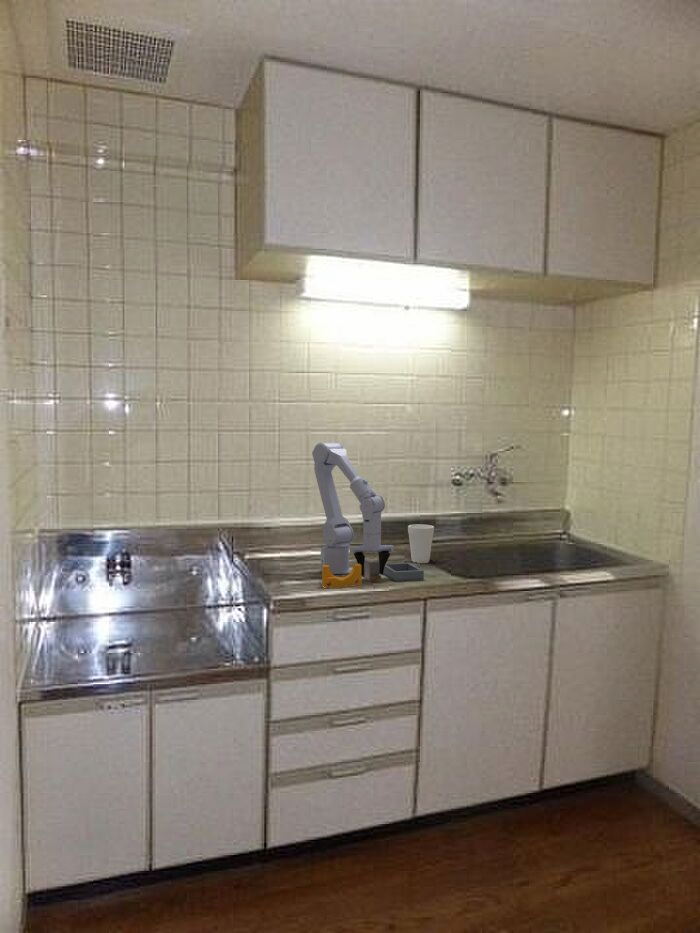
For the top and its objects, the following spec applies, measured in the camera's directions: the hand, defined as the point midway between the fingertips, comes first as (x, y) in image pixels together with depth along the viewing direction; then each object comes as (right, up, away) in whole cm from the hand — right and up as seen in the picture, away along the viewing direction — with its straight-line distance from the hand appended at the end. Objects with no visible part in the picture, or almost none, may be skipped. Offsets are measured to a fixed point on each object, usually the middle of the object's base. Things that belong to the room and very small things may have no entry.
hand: (371, 574), depth 214 cm
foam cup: (+19, 0, +28) cm, 34 cm away
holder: (0, -1, 0) cm, 1 cm away
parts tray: (+10, -1, +4) cm, 11 cm away
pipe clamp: (-9, -2, -10) cm, 14 cm away
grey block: (0, -1, 0) cm, 1 cm away
